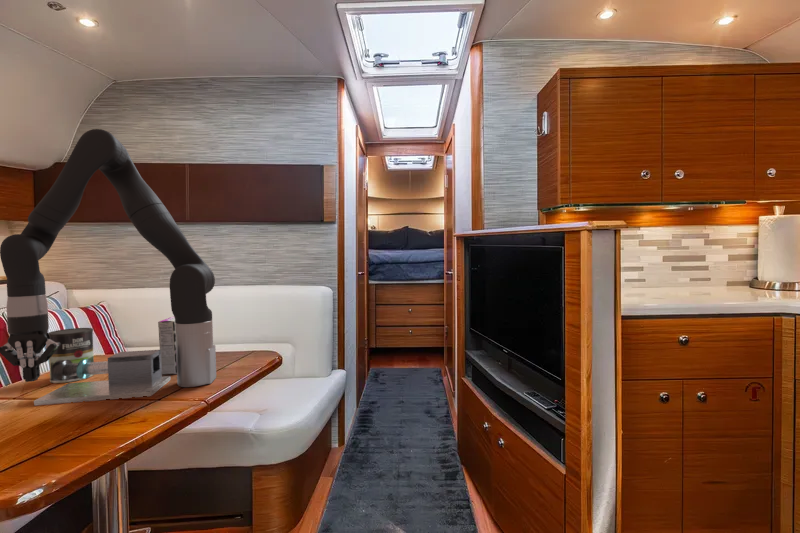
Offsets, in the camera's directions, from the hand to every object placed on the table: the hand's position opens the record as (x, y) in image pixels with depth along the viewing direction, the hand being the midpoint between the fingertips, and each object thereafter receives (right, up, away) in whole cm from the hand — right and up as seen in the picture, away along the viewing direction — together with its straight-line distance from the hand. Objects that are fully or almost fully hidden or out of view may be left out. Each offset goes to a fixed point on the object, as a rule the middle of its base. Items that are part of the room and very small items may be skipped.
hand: (31, 380), depth 99 cm
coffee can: (-3, -4, +16) cm, 17 cm away
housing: (+17, -4, +4) cm, 18 cm away
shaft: (+15, 0, +3) cm, 15 cm away
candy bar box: (+24, -3, +23) cm, 33 cm away
